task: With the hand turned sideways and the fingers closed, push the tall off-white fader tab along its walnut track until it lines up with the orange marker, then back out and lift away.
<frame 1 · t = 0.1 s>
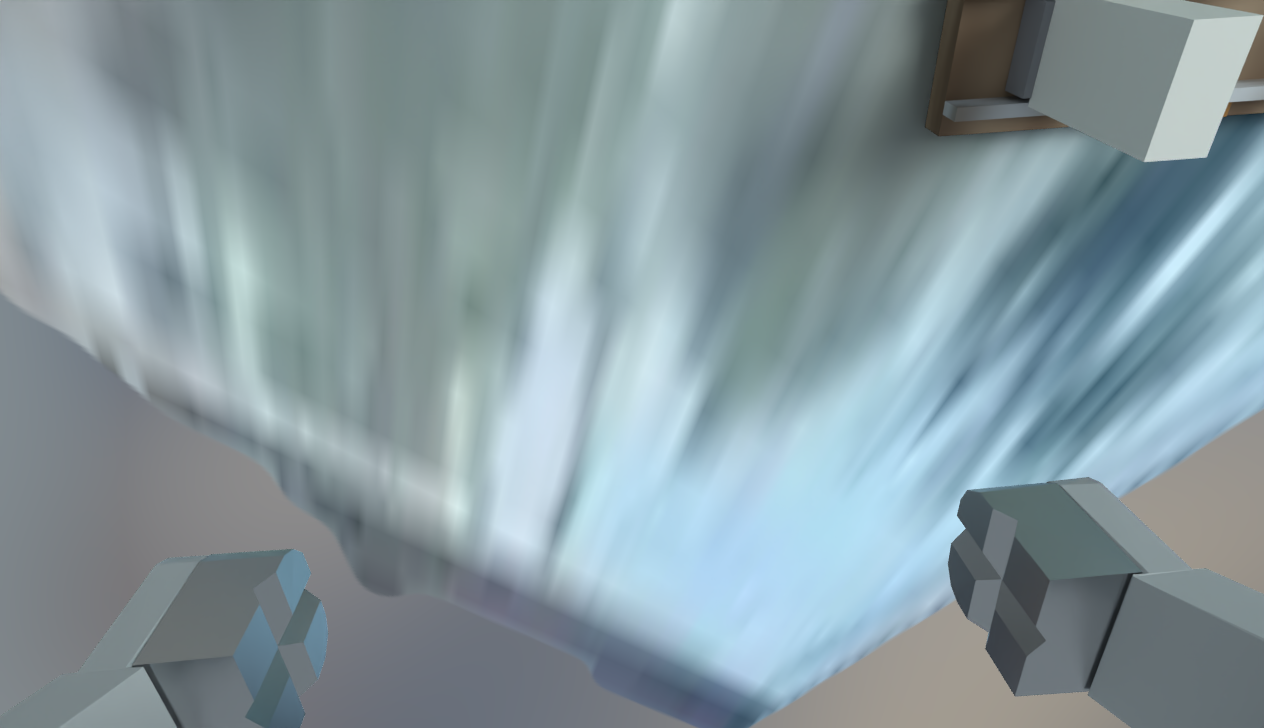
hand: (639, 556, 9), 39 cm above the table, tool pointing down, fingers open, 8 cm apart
fader track: (1142, 29, 43), on the table
fader tab: (1114, 64, 37), point 8 cm above the table, slide at 0.0 cm
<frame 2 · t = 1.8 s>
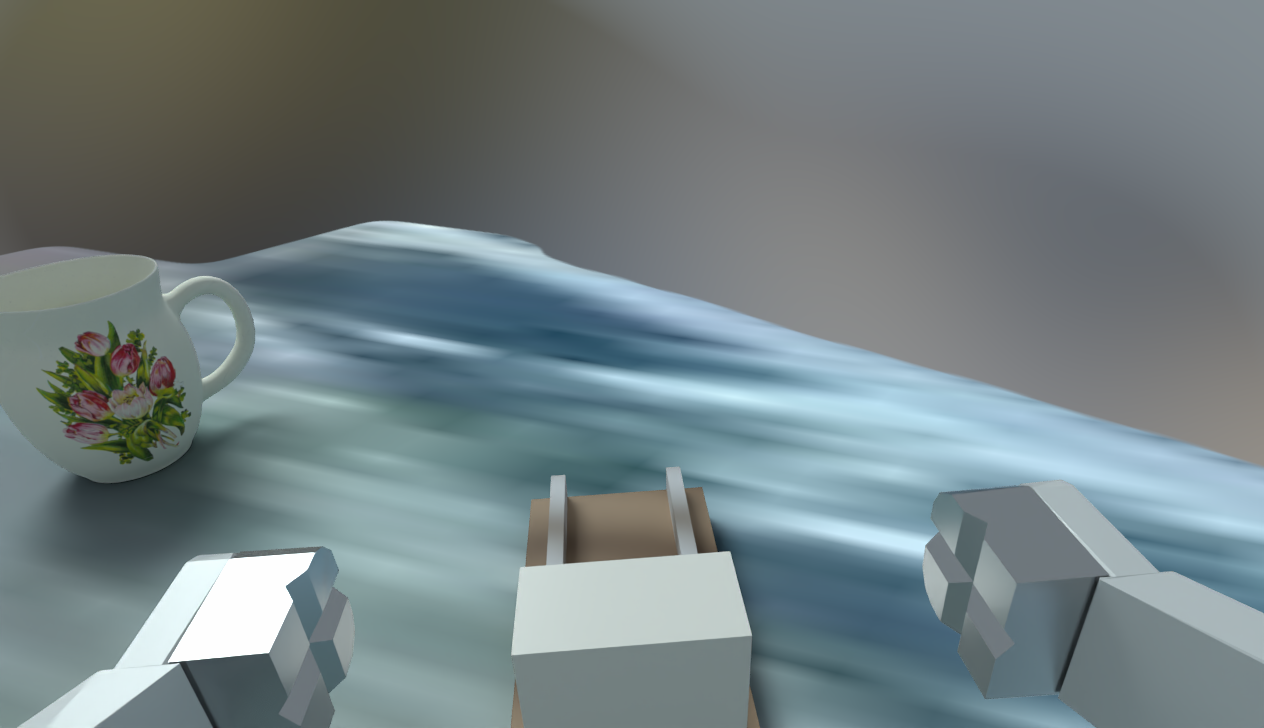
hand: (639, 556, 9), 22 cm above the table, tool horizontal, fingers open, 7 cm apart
pitcher: (155, 450, 52), on the table
fader track: (632, 706, 32), on the table
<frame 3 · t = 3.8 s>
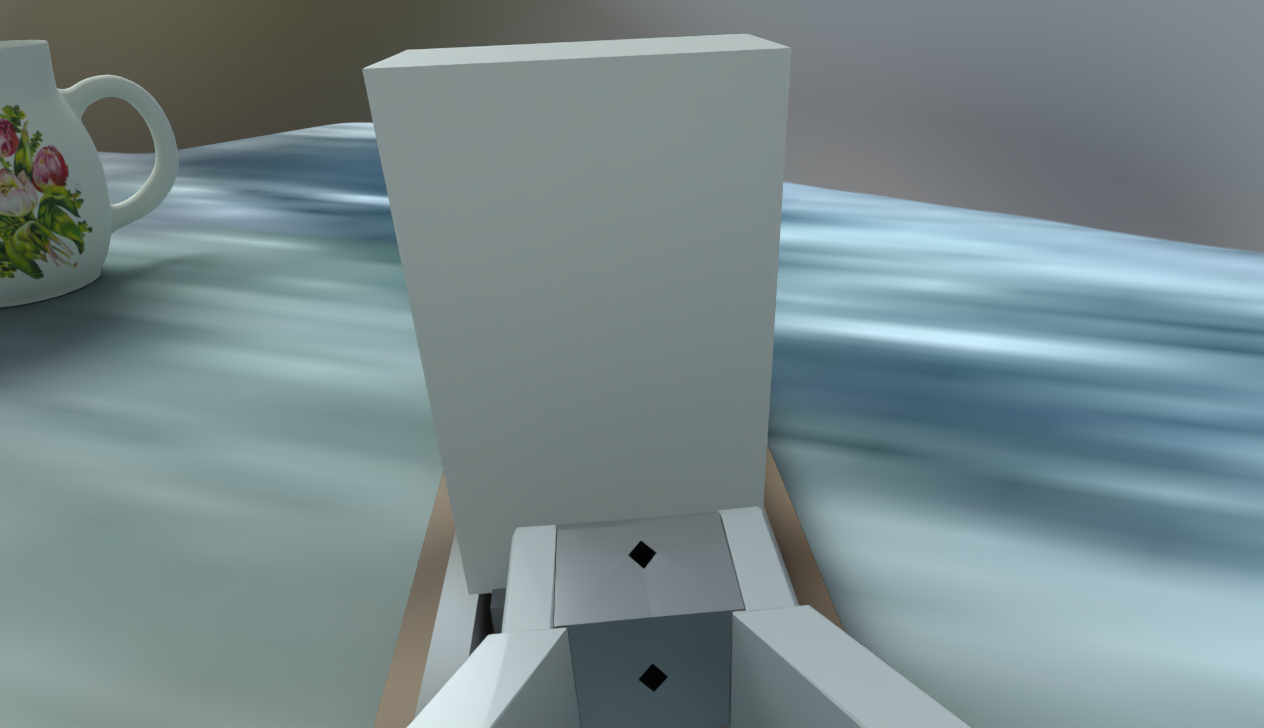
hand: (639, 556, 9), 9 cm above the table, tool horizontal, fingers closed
pitcher: (56, 284, 44), on the table
fader track: (609, 483, 24), on the table
fader tab: (601, 376, 14), point 8 cm above the table, slide at 0.0 cm
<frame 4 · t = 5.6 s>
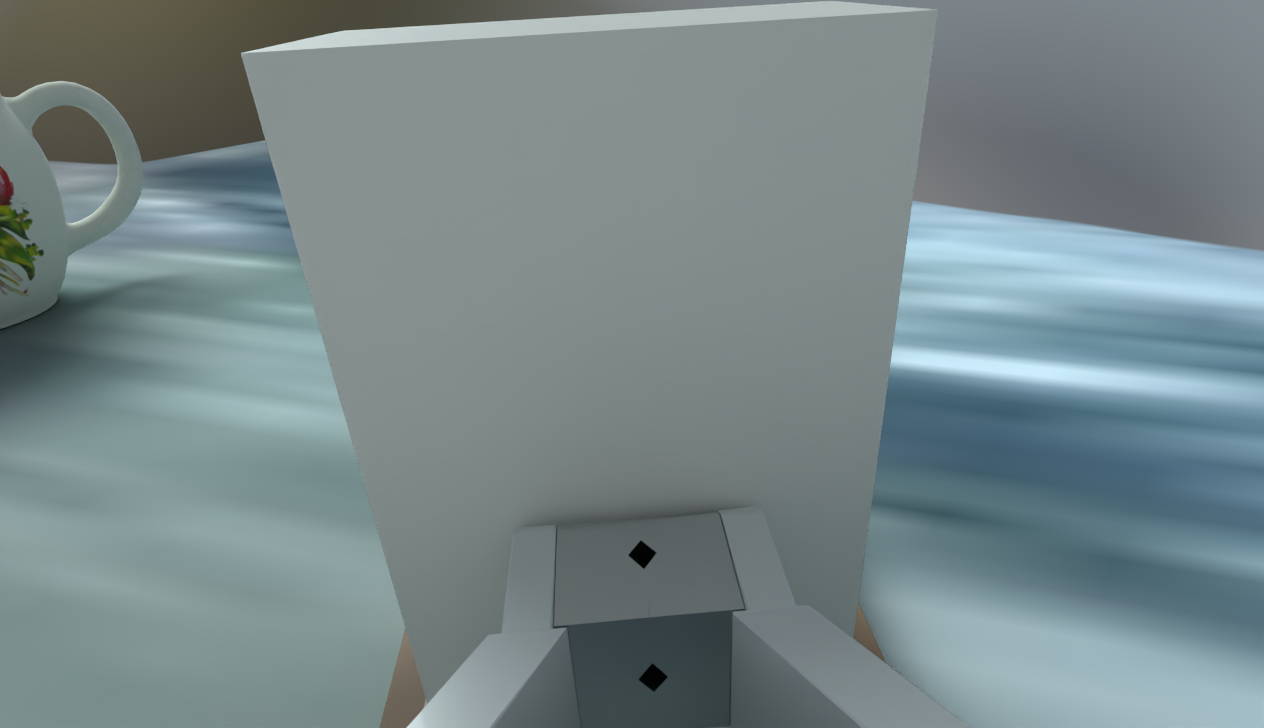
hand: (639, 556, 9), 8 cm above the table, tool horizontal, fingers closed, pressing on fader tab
pitcher: (8, 312, 40), on the table
fader track: (625, 563, 20), on the table
fader tab: (624, 479, 10), point 8 cm above the table, slide at 0.3 cm, touching gripper
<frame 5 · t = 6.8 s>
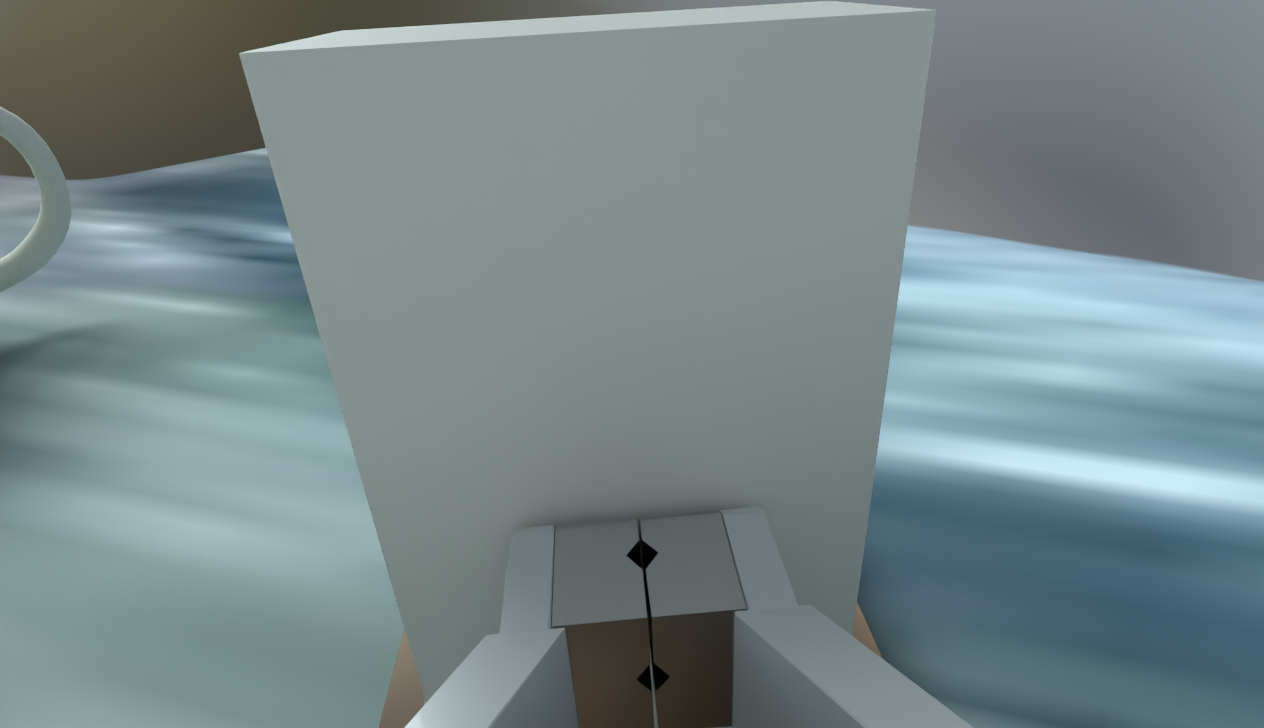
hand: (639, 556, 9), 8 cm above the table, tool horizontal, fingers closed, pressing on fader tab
fader tab: (623, 479, 10), point 8 cm above the table, slide at 7.3 cm, touching gripper
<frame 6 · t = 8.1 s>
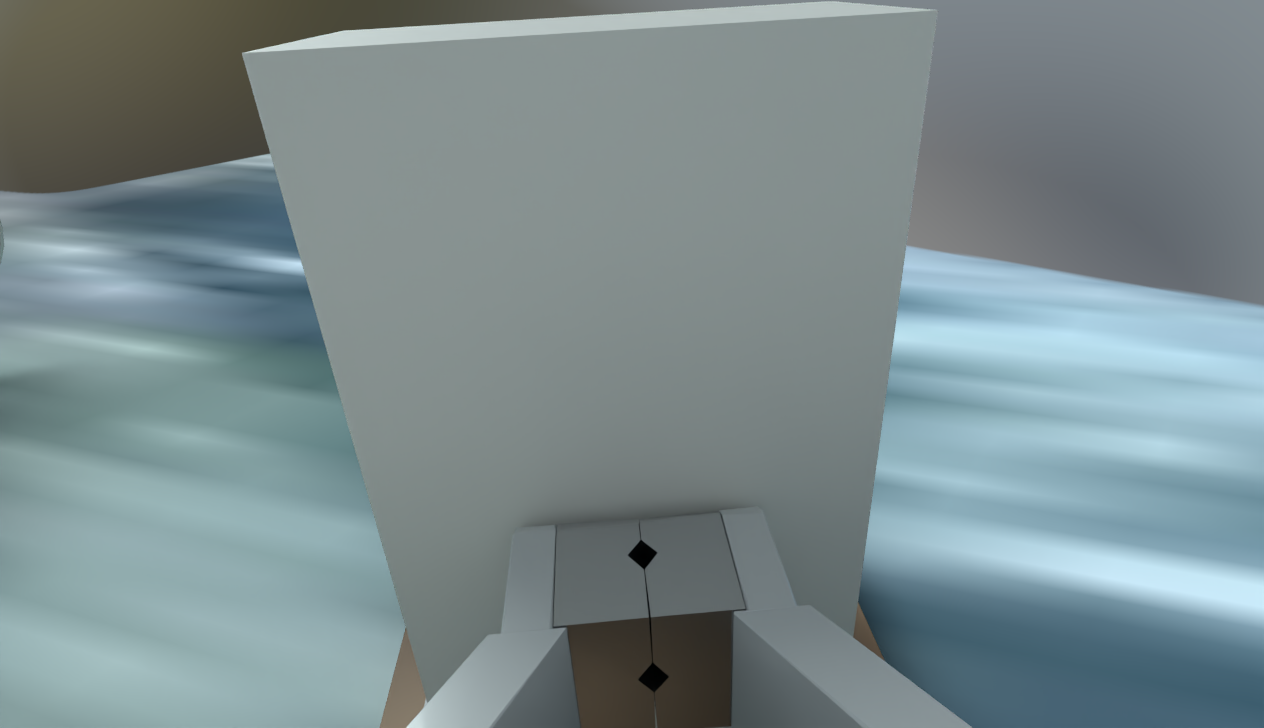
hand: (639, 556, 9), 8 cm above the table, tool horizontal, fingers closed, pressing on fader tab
fader tab: (624, 479, 10), point 8 cm above the table, slide at 12.3 cm, touching gripper
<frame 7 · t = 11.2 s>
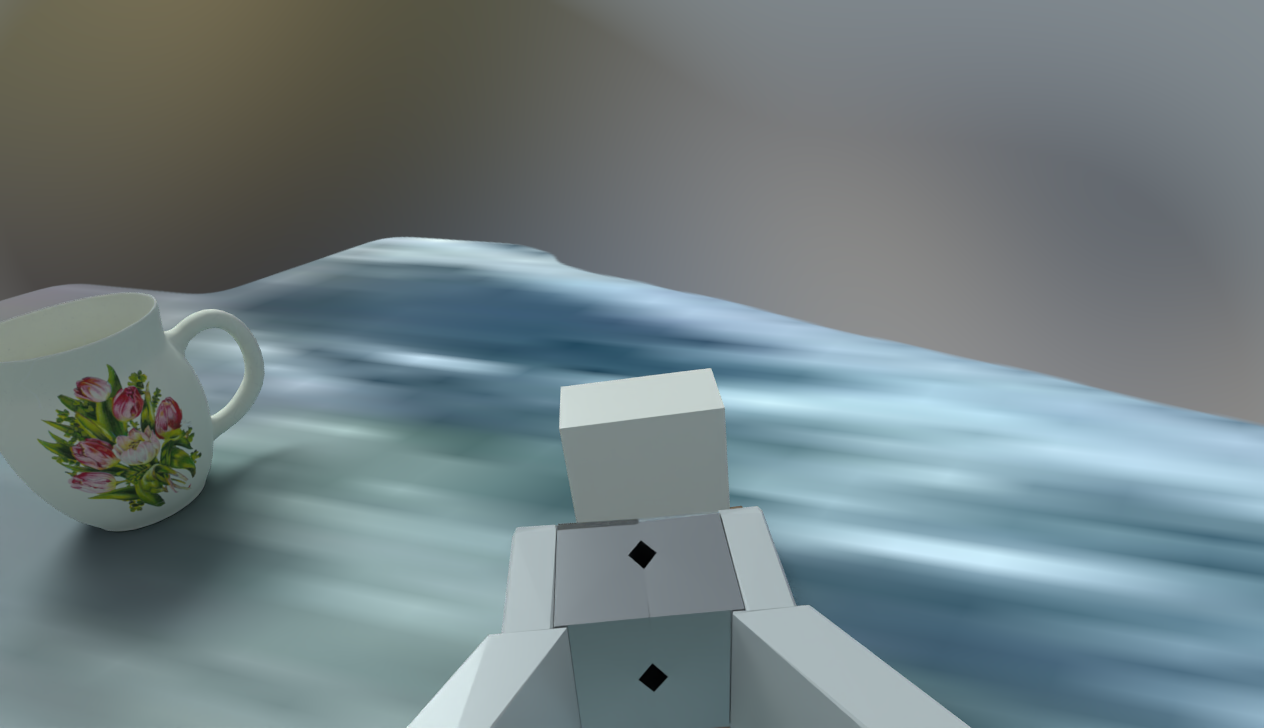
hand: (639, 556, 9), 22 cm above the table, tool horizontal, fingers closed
pitcher: (169, 493, 50), on the table
fader tab: (653, 517, 30), point 8 cm above the table, slide at 12.4 cm
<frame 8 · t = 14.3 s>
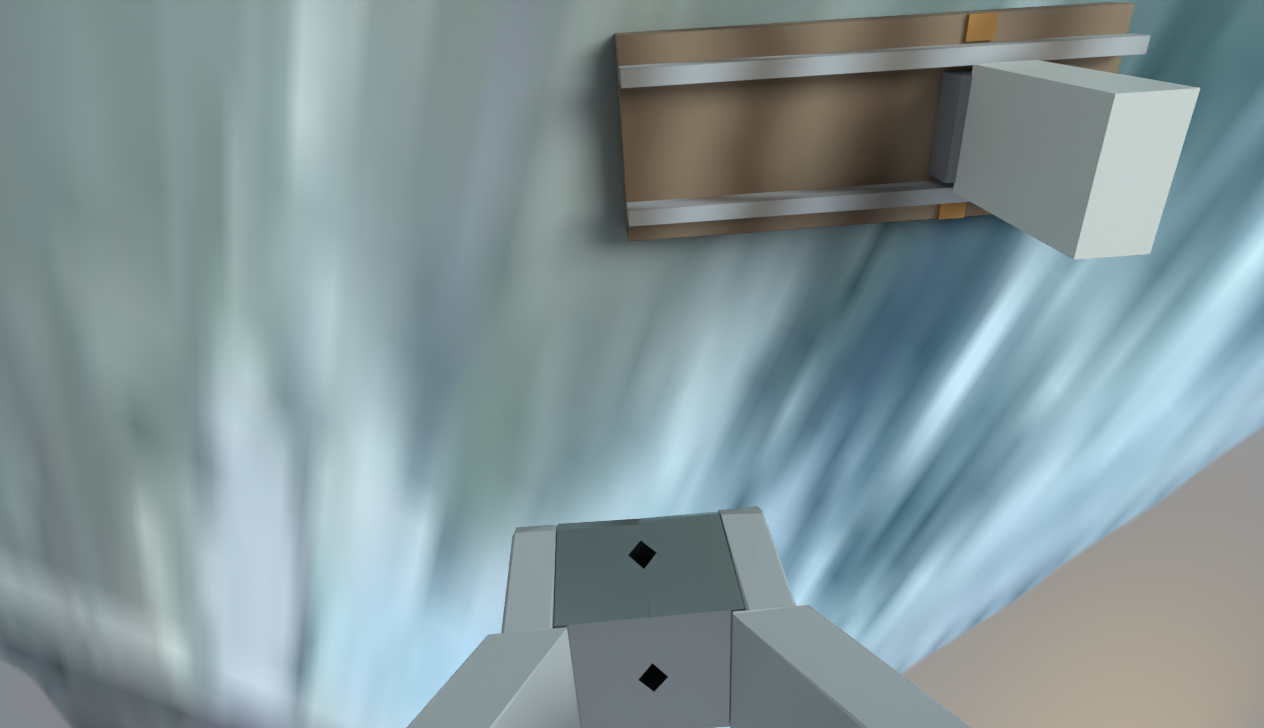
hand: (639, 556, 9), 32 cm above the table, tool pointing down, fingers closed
fader track: (854, 121, 38), on the table
fader tab: (1040, 145, 31), point 8 cm above the table, slide at 12.4 cm
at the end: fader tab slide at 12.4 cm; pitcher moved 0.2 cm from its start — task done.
